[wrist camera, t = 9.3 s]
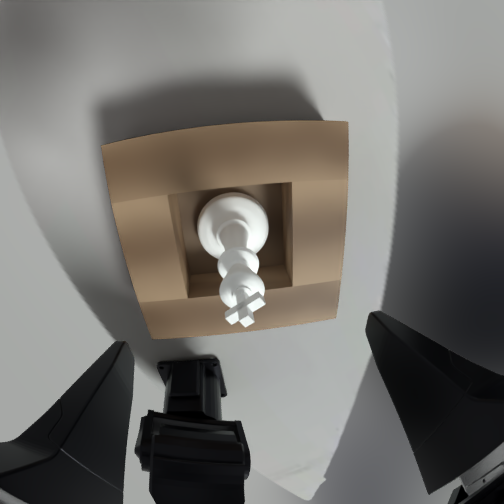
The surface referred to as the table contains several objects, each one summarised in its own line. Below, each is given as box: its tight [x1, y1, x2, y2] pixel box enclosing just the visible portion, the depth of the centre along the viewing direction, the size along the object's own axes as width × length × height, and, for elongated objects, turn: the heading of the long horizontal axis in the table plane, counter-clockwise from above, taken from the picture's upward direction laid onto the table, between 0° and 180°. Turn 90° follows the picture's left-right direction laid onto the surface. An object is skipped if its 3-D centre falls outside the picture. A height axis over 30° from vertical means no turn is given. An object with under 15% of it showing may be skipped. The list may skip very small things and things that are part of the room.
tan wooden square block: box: [101, 120, 349, 339], centre depth 19 cm, size 14×14×4 cm
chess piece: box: [197, 192, 269, 328], centre depth 15 cm, size 5×5×10 cm
